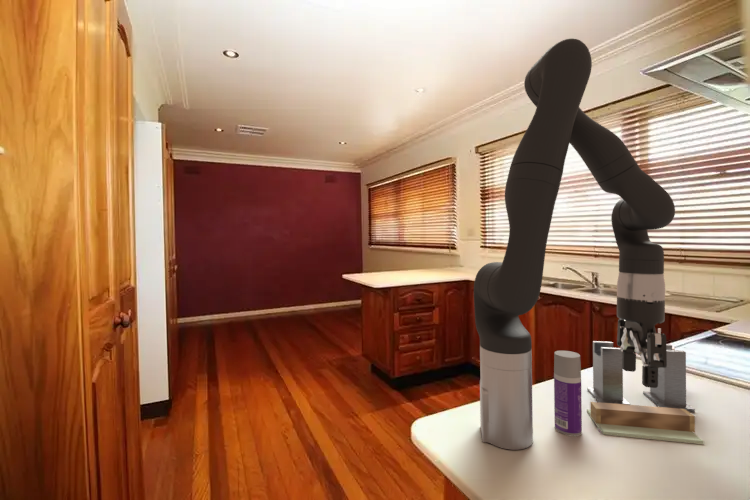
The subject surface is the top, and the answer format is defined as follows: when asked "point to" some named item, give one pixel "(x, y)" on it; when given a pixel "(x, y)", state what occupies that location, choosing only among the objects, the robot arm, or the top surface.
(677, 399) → the post right
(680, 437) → the mat
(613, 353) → the post left
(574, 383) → the container
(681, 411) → the rail
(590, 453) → the top surface
